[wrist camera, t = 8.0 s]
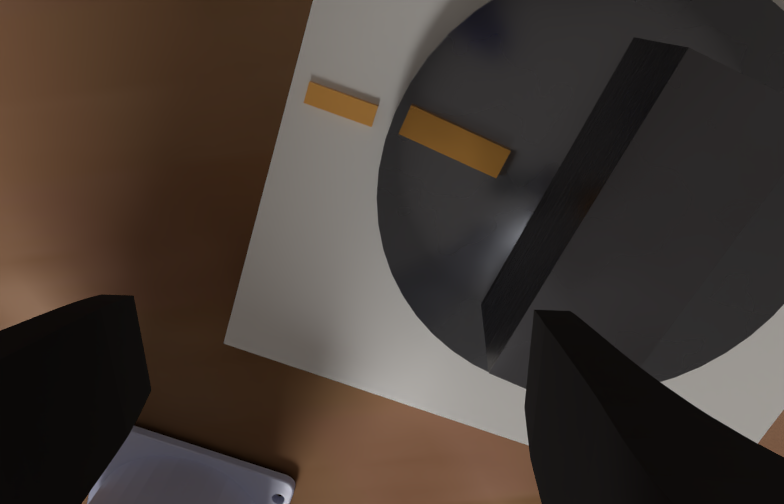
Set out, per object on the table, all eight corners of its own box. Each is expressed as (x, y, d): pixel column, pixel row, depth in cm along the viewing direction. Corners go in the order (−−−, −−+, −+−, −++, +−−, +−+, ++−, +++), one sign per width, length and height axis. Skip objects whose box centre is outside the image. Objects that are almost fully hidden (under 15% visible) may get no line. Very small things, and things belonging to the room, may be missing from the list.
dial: (927, 86, 15) (1112, 117, 11) (656, 427, 20) (712, 540, 15) (500, -131, 14) (523, -186, 10) (320, 283, 19) (284, 364, 14)
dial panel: (693, 474, 22) (712, 510, 21) (237, 321, 21) (221, 346, 20) (1055, -23, 15) (1124, -26, 14) (399, -283, 14) (394, -317, 13)
